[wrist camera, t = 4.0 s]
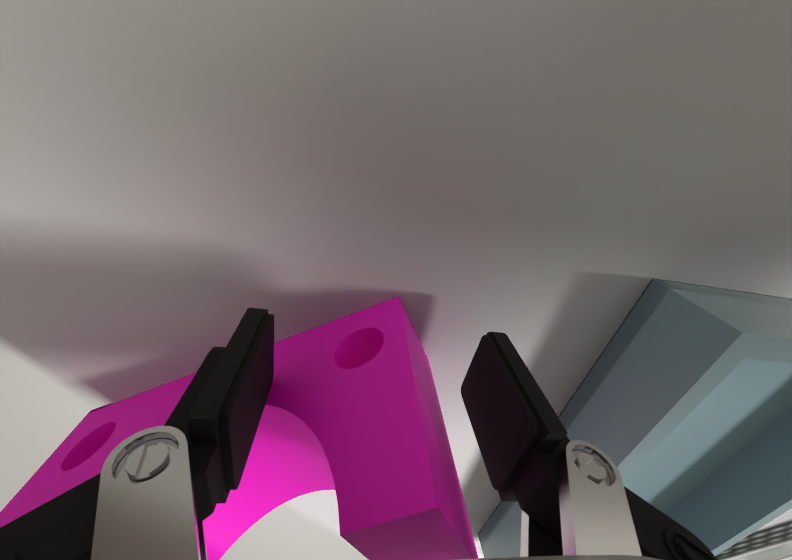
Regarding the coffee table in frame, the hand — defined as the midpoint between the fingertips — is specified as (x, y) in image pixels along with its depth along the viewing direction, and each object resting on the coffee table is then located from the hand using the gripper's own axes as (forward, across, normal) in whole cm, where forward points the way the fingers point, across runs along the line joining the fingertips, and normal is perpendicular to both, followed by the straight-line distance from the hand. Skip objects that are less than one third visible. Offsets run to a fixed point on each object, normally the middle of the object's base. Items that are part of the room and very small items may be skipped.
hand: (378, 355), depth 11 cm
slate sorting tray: (+2, -18, +8) cm, 20 cm away
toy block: (+2, +4, +6) cm, 7 cm away
